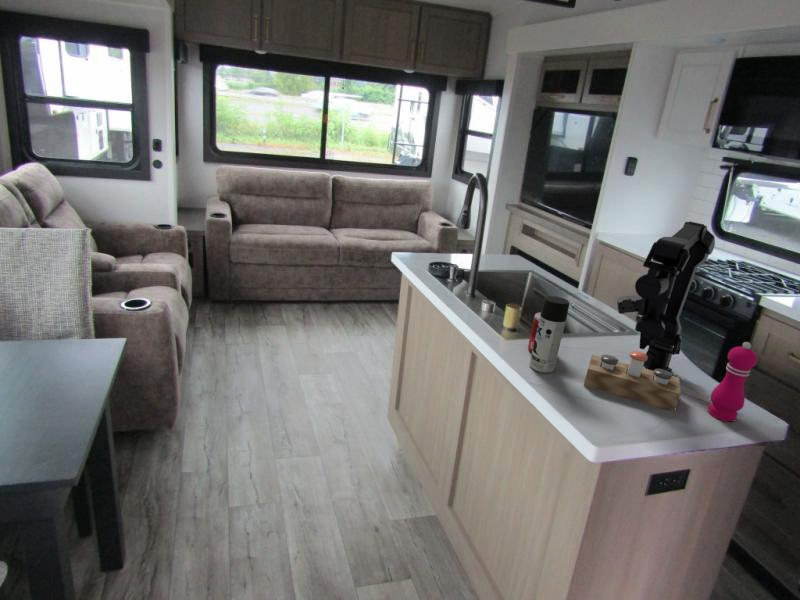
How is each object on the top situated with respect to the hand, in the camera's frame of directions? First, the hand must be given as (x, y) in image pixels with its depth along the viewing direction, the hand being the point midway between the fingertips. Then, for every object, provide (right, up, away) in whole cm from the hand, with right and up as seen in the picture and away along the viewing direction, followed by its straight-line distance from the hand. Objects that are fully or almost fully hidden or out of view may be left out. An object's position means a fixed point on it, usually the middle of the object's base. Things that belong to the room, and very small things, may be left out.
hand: (641, 348), depth 141 cm
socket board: (-1, -11, +4) cm, 12 cm away
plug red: (-1, -8, +3) cm, 9 cm away
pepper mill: (+19, -17, -3) cm, 25 cm away
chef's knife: (+15, -13, +8) cm, 21 cm away
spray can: (-23, -6, +11) cm, 26 cm away
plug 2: (+4, -12, +2) cm, 13 cm away
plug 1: (-7, -9, +6) cm, 13 cm away
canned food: (-20, -3, +21) cm, 29 cm away
